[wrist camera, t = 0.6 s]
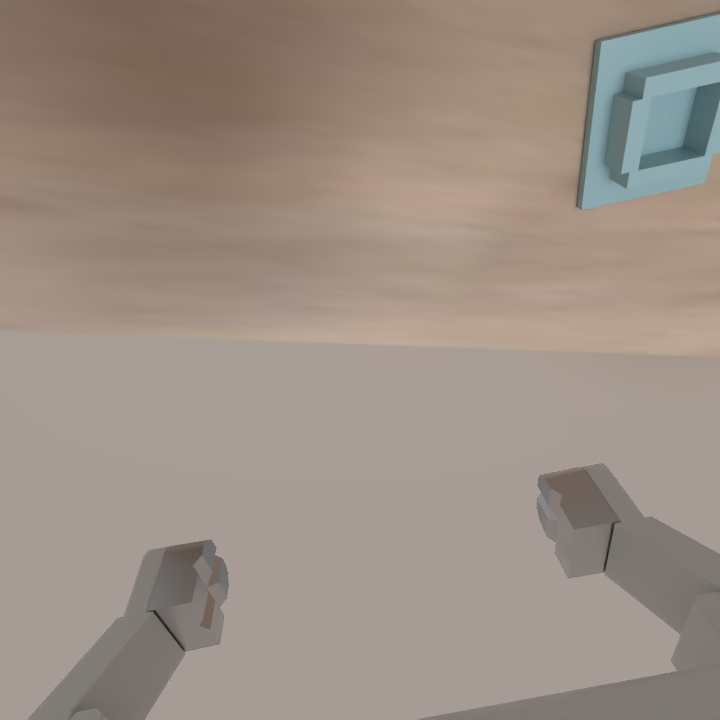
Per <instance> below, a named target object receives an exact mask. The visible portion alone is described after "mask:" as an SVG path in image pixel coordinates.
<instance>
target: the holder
mask: <svg viewBox="0 0 720 720" xmlns="http://www.w3.org/2000/svg"><path fill="white" fill-rule="evenodd" d="M716 153H720V12H717V13H713V14H709V15H704V16H700V17H695V18H691V19H687V20H682V21H678V22H674V23H669V24H665V25H661V26H656V27H652V28H648V29H643V30H639V31H635V32H630V33H626V34H622V35H617V36H613V37H609V38H604V39H600V40H596V41H595V49H594V58H593V67H592V76H591V85H590V93H589V102H588V111H587V120H586V129H585V138H584V147H583V156H582V165H581V174H580V183H579V191H578V200H577V207H578V208H579V209H581V210H585V209H589V208H594V207H598V206H603V205H608V204H612V203H617V202H621V201H626V200H631V199H635V198H640V197H644V196H649V195H654V194H658V193H663V192H667V191H672V190H677V189H681V188H686V187H690V186H695V185H700V184H704V183H705V179H706V176H707V172H708V171H709V168H710V164H711V161H712V157H713V154H716Z"/></svg>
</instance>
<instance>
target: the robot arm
mask: <svg viewBox="0 0 720 720" xmlns="http://www.w3.org/2000/svg"><path fill="white" fill-rule="evenodd" d="M538 487H539V489H540V491H541V494H540V495H539V497H538V498H537V510H538V514H539V519H540V522H541V525H542V527H543V529H544V531H545V533H546V535H547V537H549V538H550V539H552V540H553V541H555V542H556V549H555V554H556V556H557V558H558V559H559V561H560V563H561V565H562V567H563V569H564V571H565V573H566V575H567V577H568V578H573V577H579V576H585V575H591V574H598V573H604V572H605V575H606V576H607V577H608V578H610V579H611V580H612V581H614V582H615V583H616V584H617V585H619V586H620V587H621V588H622V589H624V590H625V591H626V592H628V593H629V594H630V595H631V596H633V597H634V598H635V599H636V600H638V601H639V602H640V603H641V604H643V605H644V606H645V607H646V608H648V609H649V610H650V611H651V612H653V613H654V614H655V615H657V616H658V617H659V618H660V619H662V620H663V621H664V622H666V623H667V624H668V625H669V626H670V627H672V628H673V629H674V630H676V631H677V632H678V633H679V634H681V636H680V638H679V641H678V643H677V646H676V648H675V651H674V654H673V656H672V659H671V662H672V663H673V665H674V667H675V668H676V670H677V671H676V672H670V673H665V674H660V675H654V676H649V677H643V678H638V679H633V680H627V681H622V682H617V683H611V684H606V685H600V686H595V687H589V688H584V689H578V690H573V691H568V692H562V693H557V694H552V695H546V696H541V697H536V698H530V699H525V700H519V701H514V702H508V703H503V704H498V705H492V706H486V707H482V708H476V709H470V710H465V711H460V712H454V713H449V714H444V715H438V716H432V717H427V718H422V719H417V720H720V554H719V553H717V552H715V551H713V550H712V549H710V548H708V547H706V546H704V545H702V544H700V543H699V542H697V541H695V540H693V539H691V538H690V537H688V536H686V535H684V534H682V533H681V532H679V531H677V530H675V529H673V528H671V527H669V526H667V525H666V524H664V523H662V522H660V521H659V520H657V519H655V518H653V517H644V516H643V514H642V513H641V512H640V510H639V509H638V508H637V507H636V505H635V504H634V503H633V501H632V500H631V498H630V497H629V496H628V494H627V493H626V492H625V490H624V489H623V488H622V486H621V485H620V484H619V482H618V481H617V479H616V478H615V477H614V476H613V474H612V473H611V472H610V470H609V469H608V468H607V466H605V465H604V464H602V463H601V464H595V465H590V466H585V467H581V468H579V467H577V468H573V469H568V470H563V471H558V472H553V473H549V474H544V475H540V476H539V478H538ZM215 552H216V546H215V545H214V543H213V542H212V540H205V541H199V542H193V543H188V544H181V545H175V546H169V547H164V548H159V549H152V550H149V551H148V552H147V553H146V554H145V556H144V557H143V560H142V563H141V566H140V569H139V572H138V575H137V578H136V581H135V584H134V587H133V590H132V593H131V596H130V599H129V602H128V605H127V608H126V611H125V614H124V617H120V618H117V619H116V620H115V621H114V623H113V624H112V625H111V626H110V627H109V628H108V629H107V631H106V632H105V633H104V634H103V635H102V636H101V637H100V639H98V641H97V642H96V643H95V644H94V645H93V646H92V648H91V649H90V650H89V651H88V652H87V653H86V654H85V655H84V657H83V658H82V659H81V660H80V661H79V662H78V663H77V664H76V665H75V666H74V668H73V669H72V670H71V671H70V672H69V674H67V676H66V677H65V678H64V679H63V680H62V681H61V682H60V683H59V685H58V686H57V687H56V688H55V689H54V690H53V691H52V692H51V694H50V695H49V696H48V697H47V698H46V699H45V700H44V701H43V703H42V704H41V705H40V706H39V707H38V708H37V709H36V710H35V712H34V713H33V714H32V715H31V716H30V717H29V718H28V720H145V718H146V716H147V715H148V713H149V712H150V710H151V708H152V707H153V705H154V704H155V702H156V700H157V699H158V697H159V695H160V694H161V692H162V690H163V689H164V688H165V686H166V684H167V682H168V681H169V679H170V678H171V676H172V675H173V673H174V671H175V670H176V668H177V667H178V665H179V663H180V662H181V660H182V659H183V657H184V655H185V652H186V651H190V650H195V649H199V648H204V647H209V646H213V645H218V644H220V640H221V634H222V628H223V621H224V615H223V613H222V611H221V609H220V606H221V605H222V604H223V602H224V601H225V600H226V598H227V594H228V586H229V584H228V571H227V568H226V565H225V563H224V561H223V559H222V558H220V557H218V556H216V555H215Z"/></svg>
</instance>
